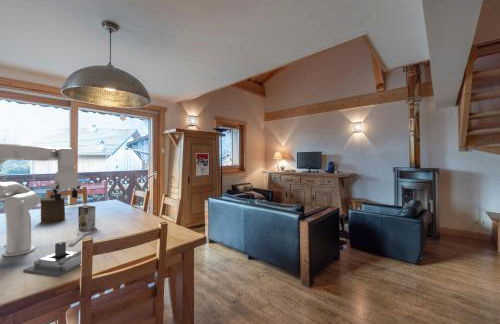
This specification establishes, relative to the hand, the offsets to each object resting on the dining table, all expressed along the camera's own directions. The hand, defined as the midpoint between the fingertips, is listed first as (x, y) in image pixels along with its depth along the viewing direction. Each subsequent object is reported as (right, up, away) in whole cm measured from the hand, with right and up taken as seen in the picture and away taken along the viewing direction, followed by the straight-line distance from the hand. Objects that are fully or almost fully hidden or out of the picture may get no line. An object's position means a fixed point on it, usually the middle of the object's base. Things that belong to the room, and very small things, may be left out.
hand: (66, 199), depth 130 cm
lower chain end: (+12, -28, -20) cm, 37 cm away
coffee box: (-14, -28, +36) cm, 48 cm away
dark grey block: (+14, -28, -21) cm, 37 cm away
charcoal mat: (+13, -29, -20) cm, 38 cm away
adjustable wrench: (-5, -29, +15) cm, 33 cm away
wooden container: (-55, -27, +55) cm, 83 cm away
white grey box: (+15, -28, -21) cm, 38 cm away
